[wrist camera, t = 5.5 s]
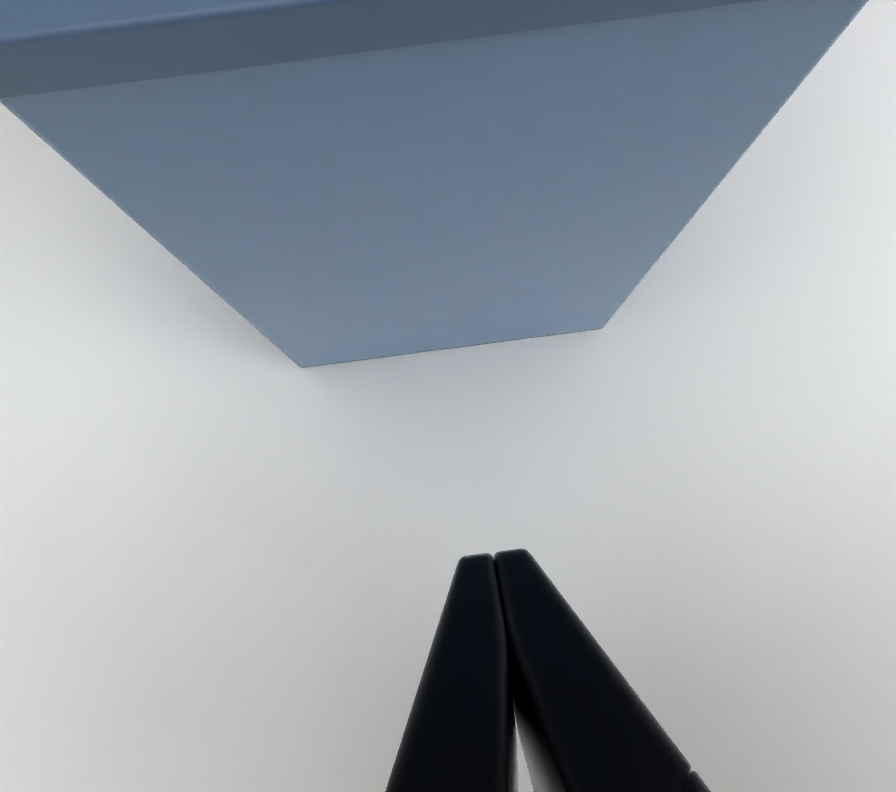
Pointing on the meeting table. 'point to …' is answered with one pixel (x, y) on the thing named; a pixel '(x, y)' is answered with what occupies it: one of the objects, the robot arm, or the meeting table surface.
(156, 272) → the meeting table surface
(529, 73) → the storage box
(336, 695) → the meeting table surface
